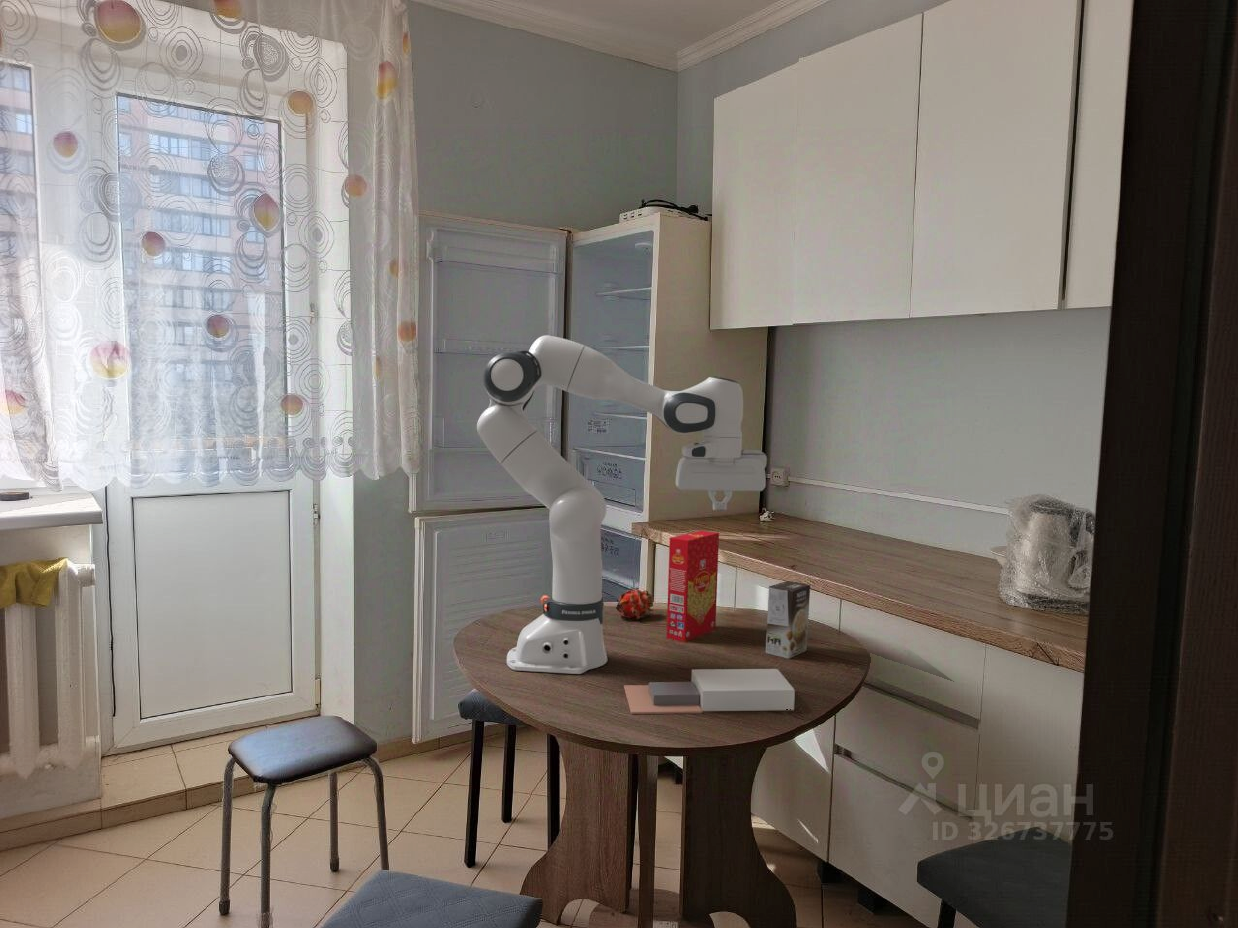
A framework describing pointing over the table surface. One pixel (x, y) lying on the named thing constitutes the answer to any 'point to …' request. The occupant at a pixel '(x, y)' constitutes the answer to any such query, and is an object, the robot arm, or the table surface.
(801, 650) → the coffee box
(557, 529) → the robot arm
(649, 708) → the mat
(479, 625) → the table surface
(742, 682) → the block
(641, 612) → the dragon fruit
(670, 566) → the food packaging
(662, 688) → the gray flat block
